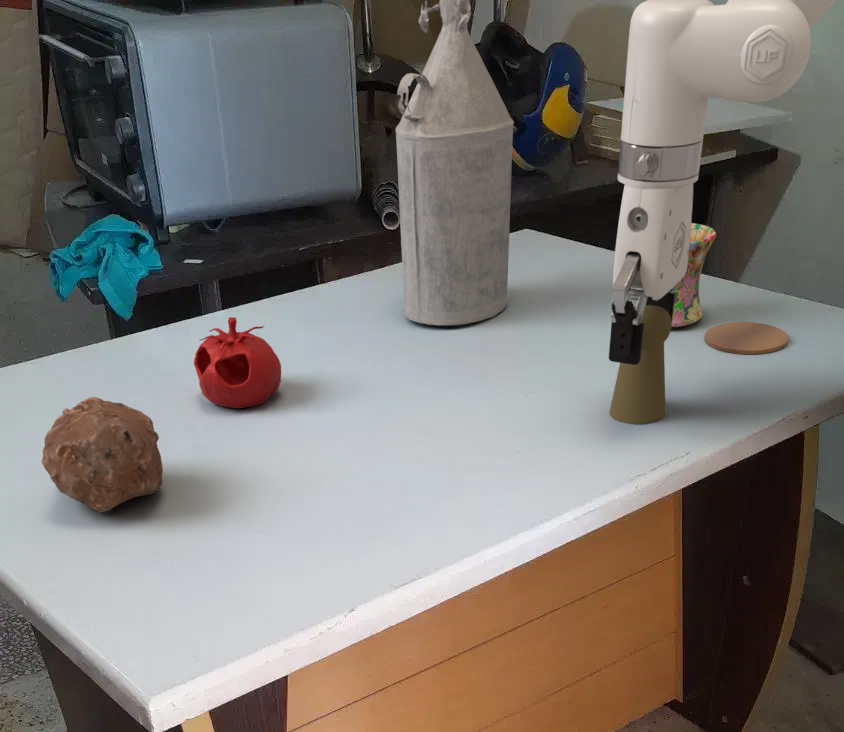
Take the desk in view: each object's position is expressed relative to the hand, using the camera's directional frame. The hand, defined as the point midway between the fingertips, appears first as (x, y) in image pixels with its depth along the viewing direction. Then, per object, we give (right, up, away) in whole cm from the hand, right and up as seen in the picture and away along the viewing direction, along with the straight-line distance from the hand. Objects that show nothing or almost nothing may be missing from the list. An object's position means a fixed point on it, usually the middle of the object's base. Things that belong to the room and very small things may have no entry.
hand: (640, 346), depth 106 cm
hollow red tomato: (-44, -1, +13) cm, 46 cm away
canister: (-18, +18, +33) cm, 42 cm away
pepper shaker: (+1, -6, +5) cm, 8 cm away
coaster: (+17, +9, +20) cm, 28 cm away
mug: (+9, +13, +25) cm, 30 cm away
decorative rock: (-54, -17, -4) cm, 57 cm away
